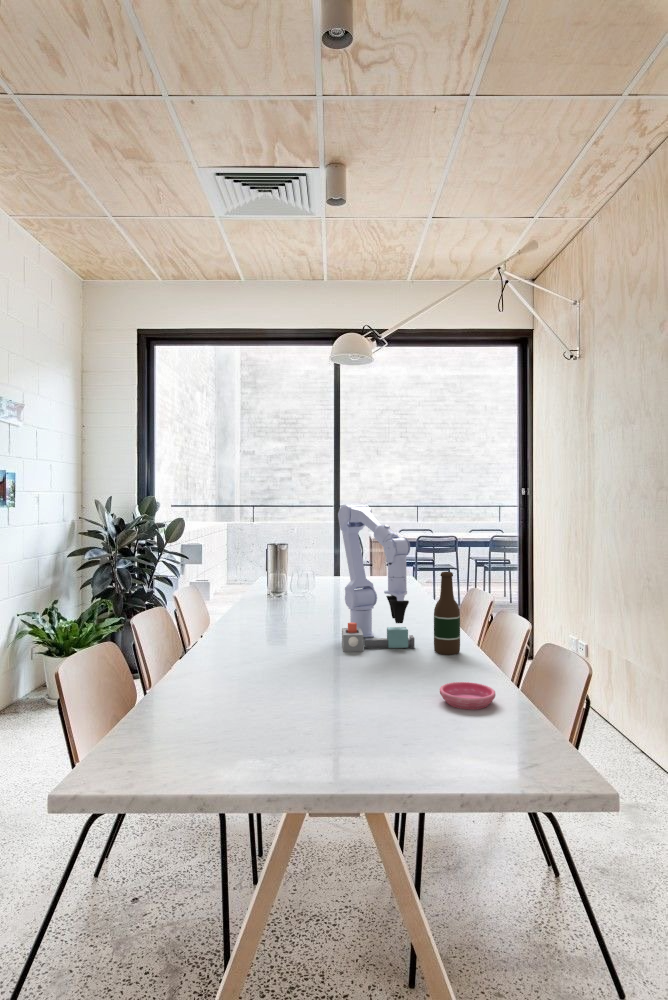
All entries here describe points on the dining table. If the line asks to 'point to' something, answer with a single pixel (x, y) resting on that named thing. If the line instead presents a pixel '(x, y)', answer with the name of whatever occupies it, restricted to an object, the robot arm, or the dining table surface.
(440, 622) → the beer bottle
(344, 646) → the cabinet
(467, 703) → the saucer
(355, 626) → the plunger
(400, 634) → the block
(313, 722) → the dining table surface
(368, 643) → the rail
